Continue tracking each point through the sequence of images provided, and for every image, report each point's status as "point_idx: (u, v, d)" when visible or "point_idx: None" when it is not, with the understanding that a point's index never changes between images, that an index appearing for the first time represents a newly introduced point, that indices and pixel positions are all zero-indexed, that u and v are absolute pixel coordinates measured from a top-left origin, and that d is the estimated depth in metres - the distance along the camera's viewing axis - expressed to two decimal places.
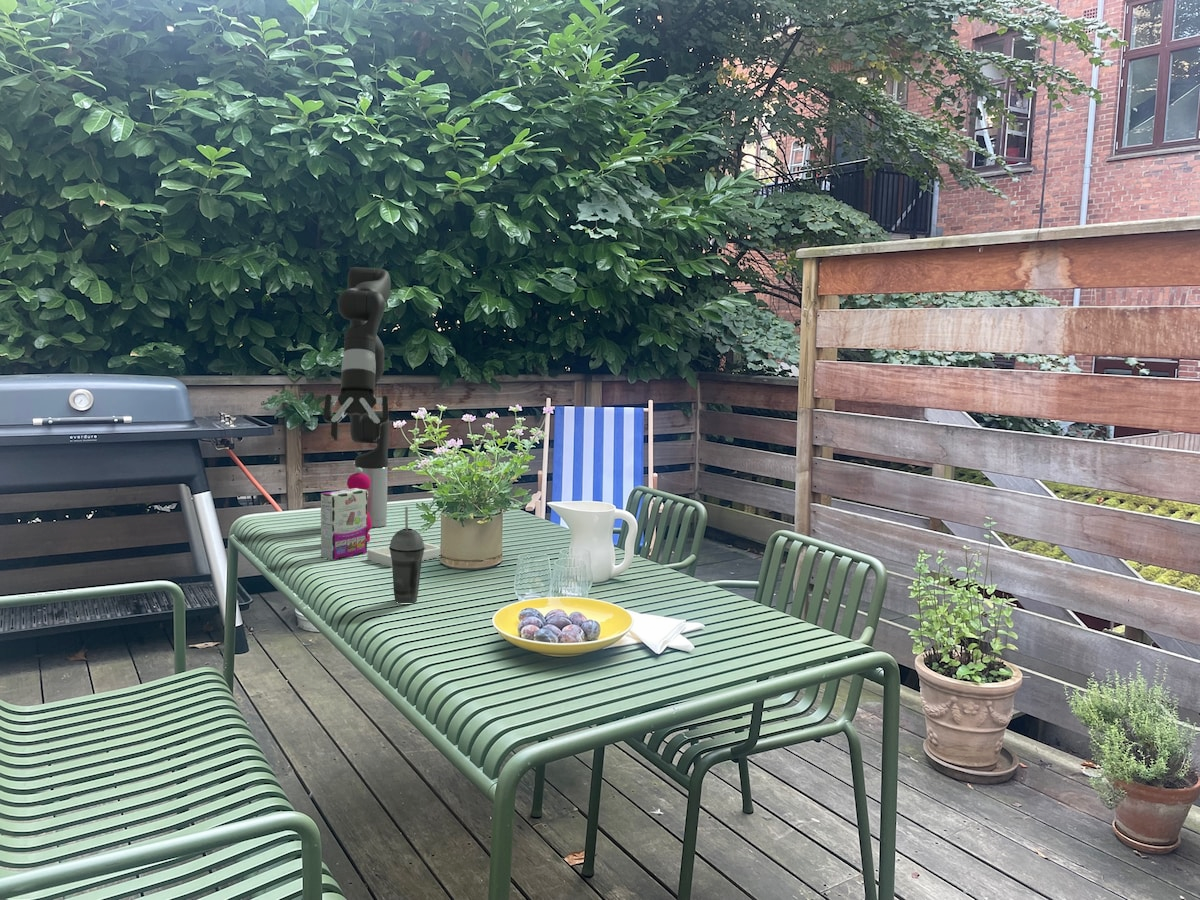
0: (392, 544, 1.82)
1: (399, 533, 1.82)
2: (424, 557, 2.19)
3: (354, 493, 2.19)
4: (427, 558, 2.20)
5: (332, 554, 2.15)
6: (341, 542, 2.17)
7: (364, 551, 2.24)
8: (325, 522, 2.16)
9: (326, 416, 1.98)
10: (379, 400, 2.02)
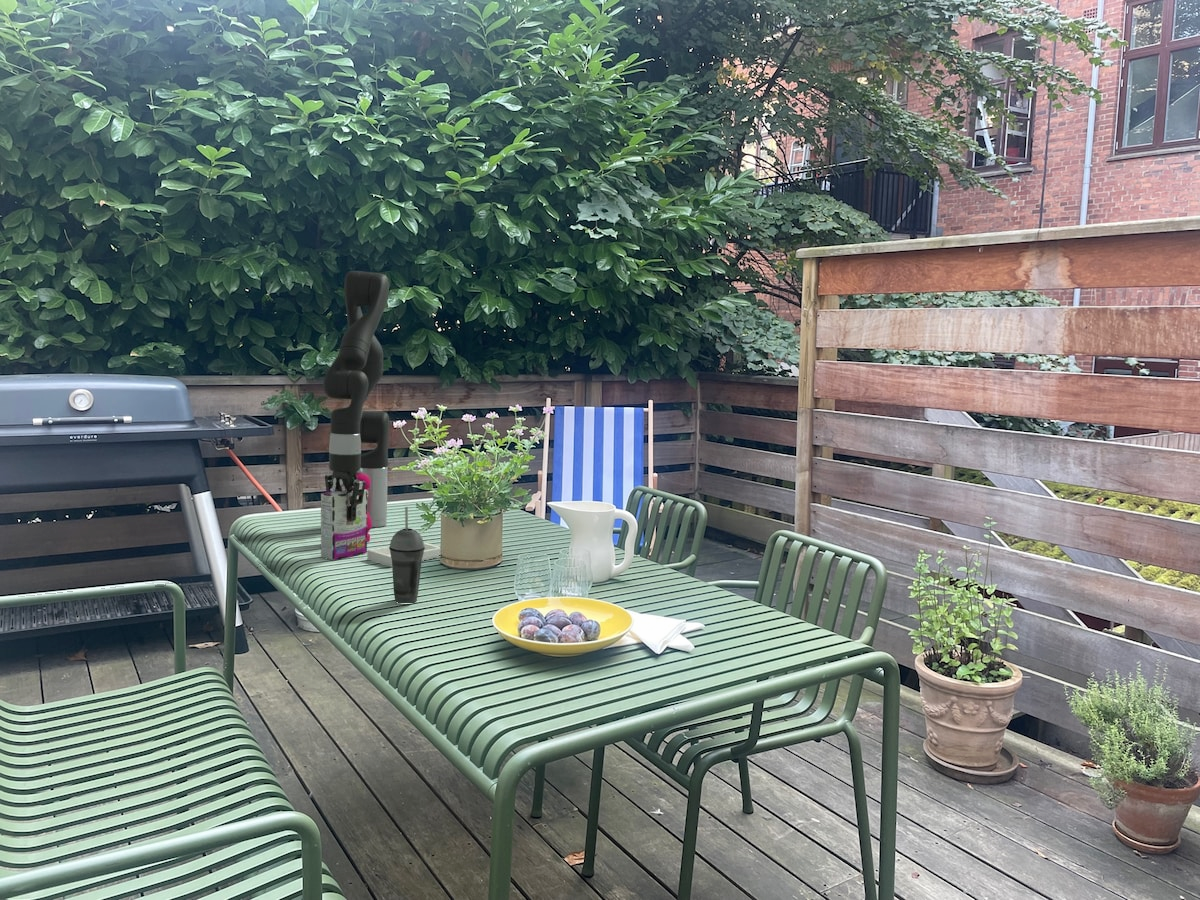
0: (392, 544, 1.82)
1: (399, 533, 1.82)
2: (424, 557, 2.19)
3: None
4: (427, 558, 2.20)
5: (332, 554, 2.15)
6: (341, 542, 2.17)
7: (364, 551, 2.24)
8: (325, 522, 2.16)
9: None
10: None
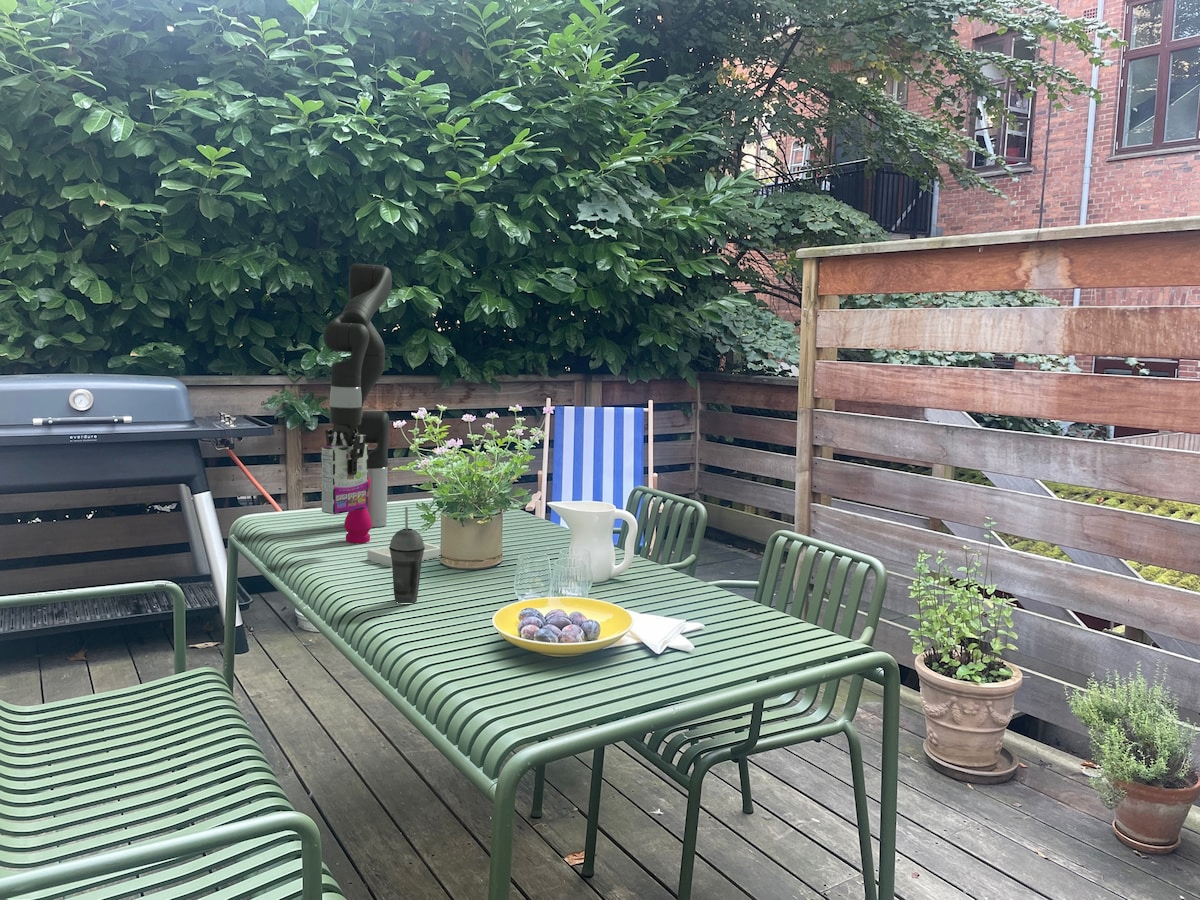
0: (392, 544, 1.82)
1: (399, 533, 1.82)
2: (424, 557, 2.19)
3: None
4: (427, 558, 2.20)
5: (333, 508, 2.14)
6: (341, 496, 2.15)
7: (365, 506, 2.22)
8: (326, 476, 2.14)
9: None
10: None
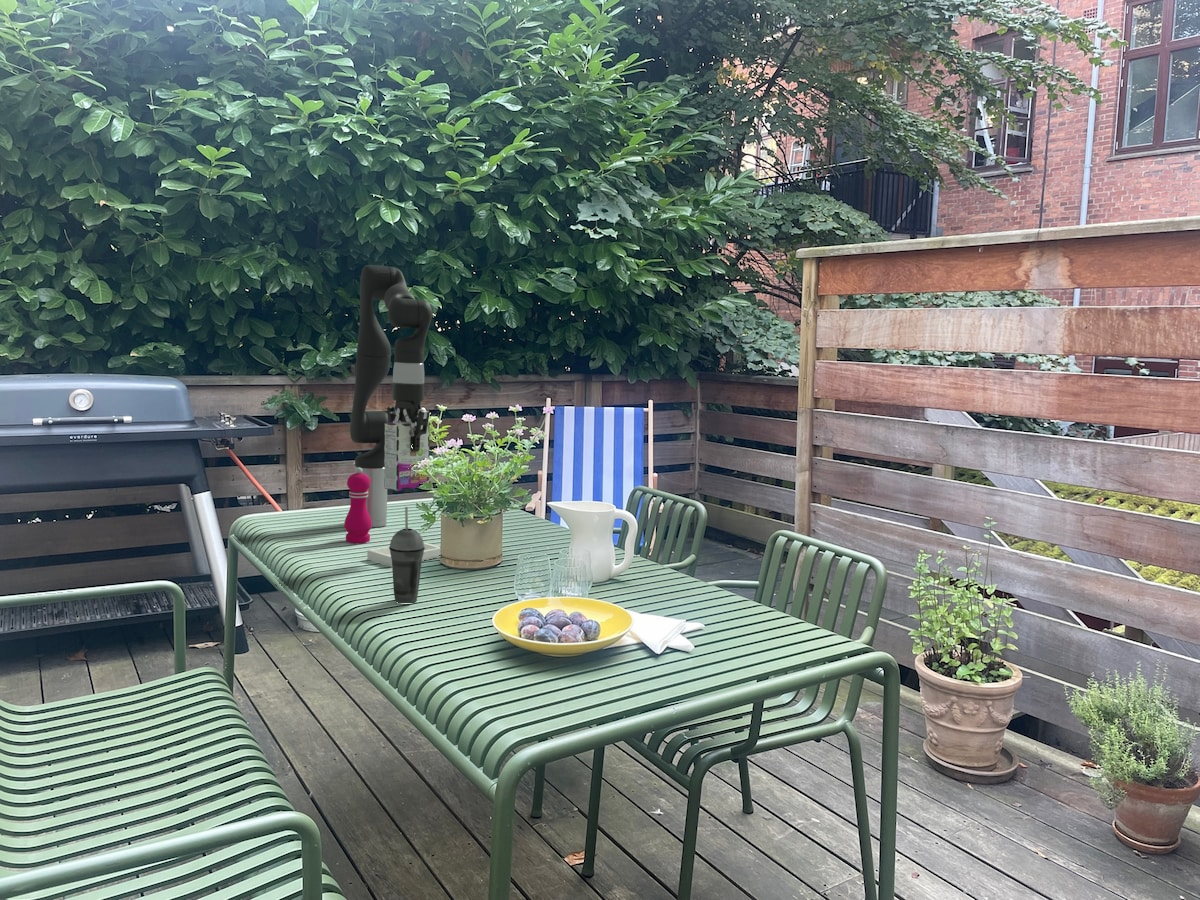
0: (392, 544, 1.82)
1: (399, 533, 1.82)
2: (424, 557, 2.19)
3: None
4: (427, 558, 2.20)
5: (396, 484, 2.13)
6: (404, 472, 2.15)
7: None
8: (389, 452, 2.14)
9: None
10: (419, 412, 2.13)
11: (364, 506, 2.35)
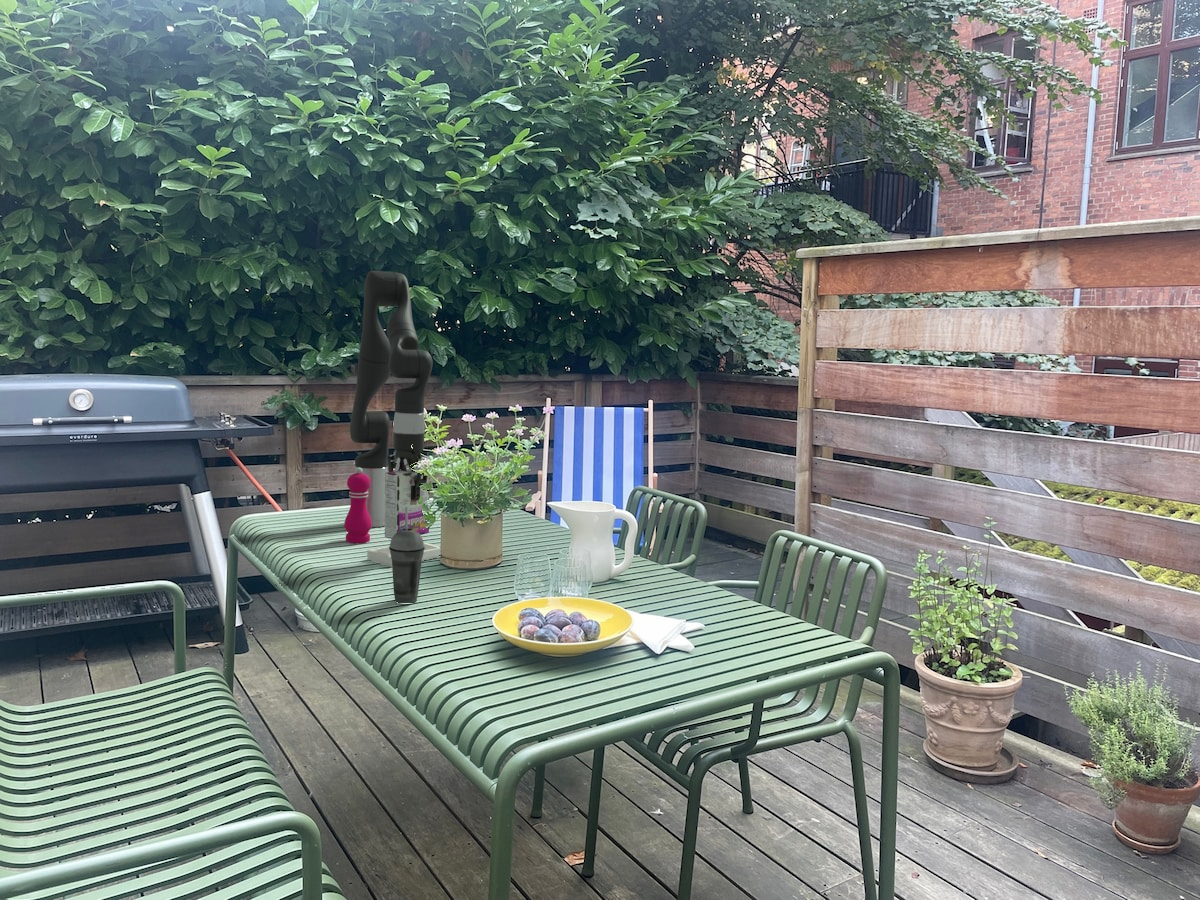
0: (392, 544, 1.82)
1: (399, 533, 1.82)
2: (424, 557, 2.19)
3: None
4: (427, 558, 2.20)
5: None
6: None
7: (426, 531, 2.23)
8: (390, 501, 2.15)
9: None
10: None
11: (364, 506, 2.35)
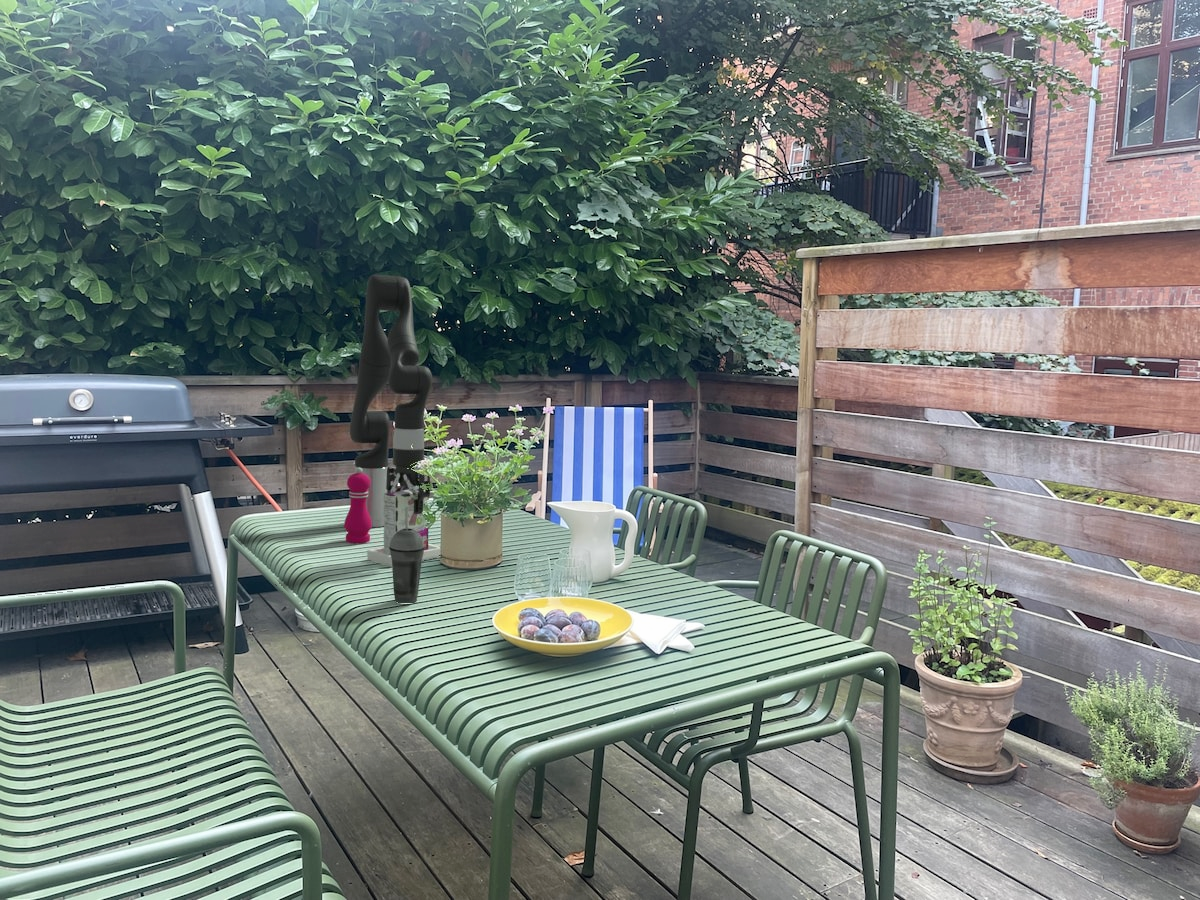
0: (392, 544, 1.82)
1: (399, 533, 1.82)
2: (424, 557, 2.19)
3: None
4: (427, 558, 2.20)
5: None
6: None
7: None
8: (388, 522, 2.16)
9: (387, 488, 2.22)
10: None
11: (364, 506, 2.35)
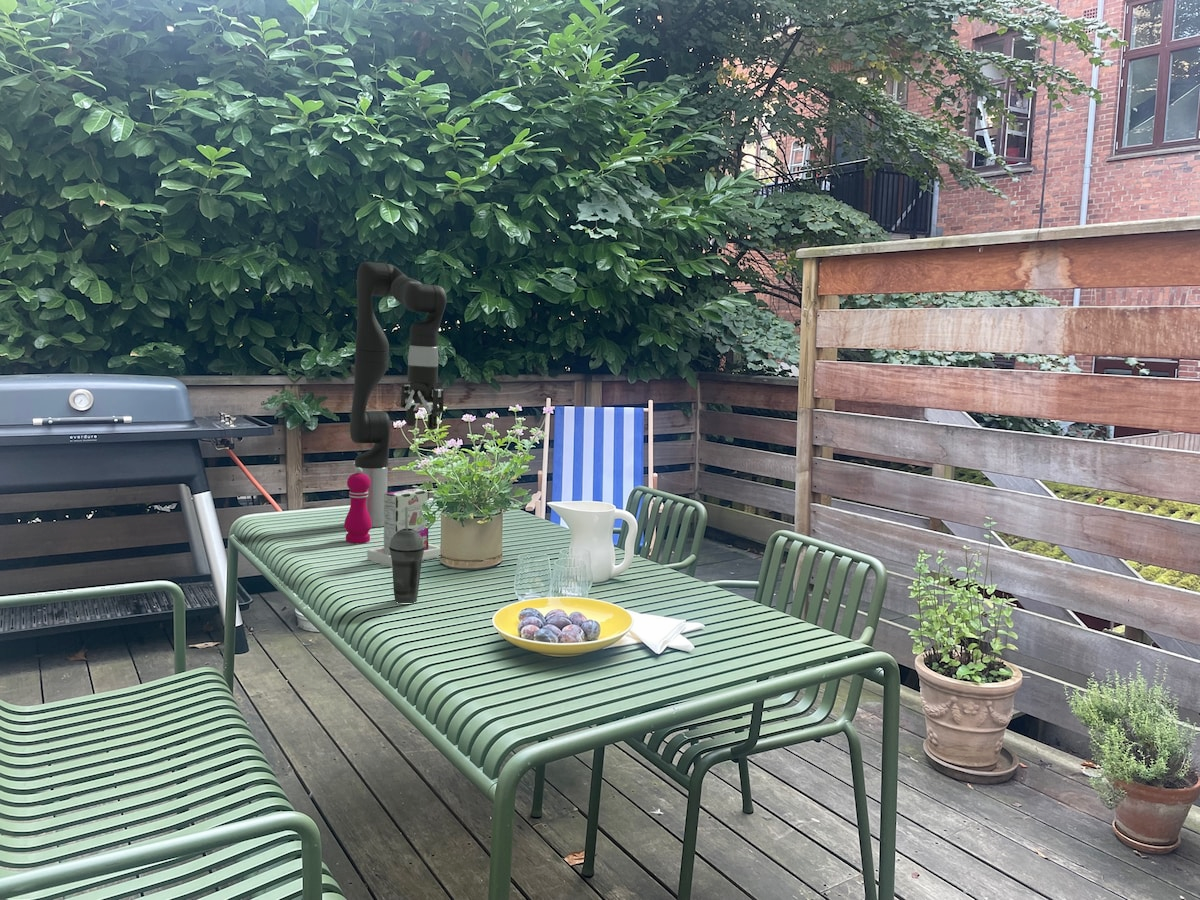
0: (392, 544, 1.82)
1: (399, 533, 1.82)
2: (424, 557, 2.19)
3: (416, 493, 2.19)
4: (427, 558, 2.20)
5: None
6: None
7: None
8: (388, 522, 2.16)
9: (402, 405, 2.28)
10: (433, 392, 2.21)
11: (364, 506, 2.35)
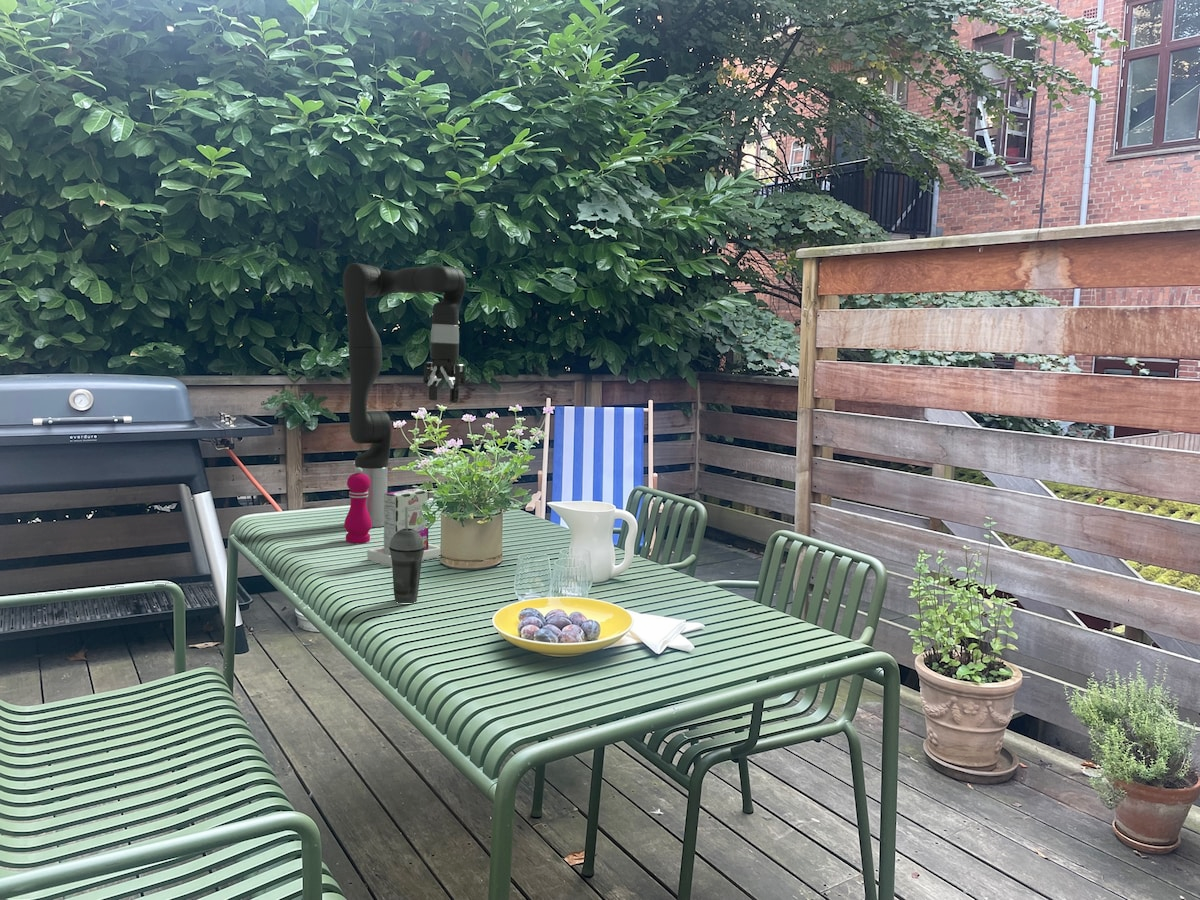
0: (392, 544, 1.82)
1: (399, 533, 1.82)
2: (424, 557, 2.19)
3: (416, 493, 2.19)
4: (427, 558, 2.20)
5: None
6: None
7: None
8: (388, 522, 2.16)
9: (424, 381, 2.43)
10: None
11: (364, 506, 2.35)
